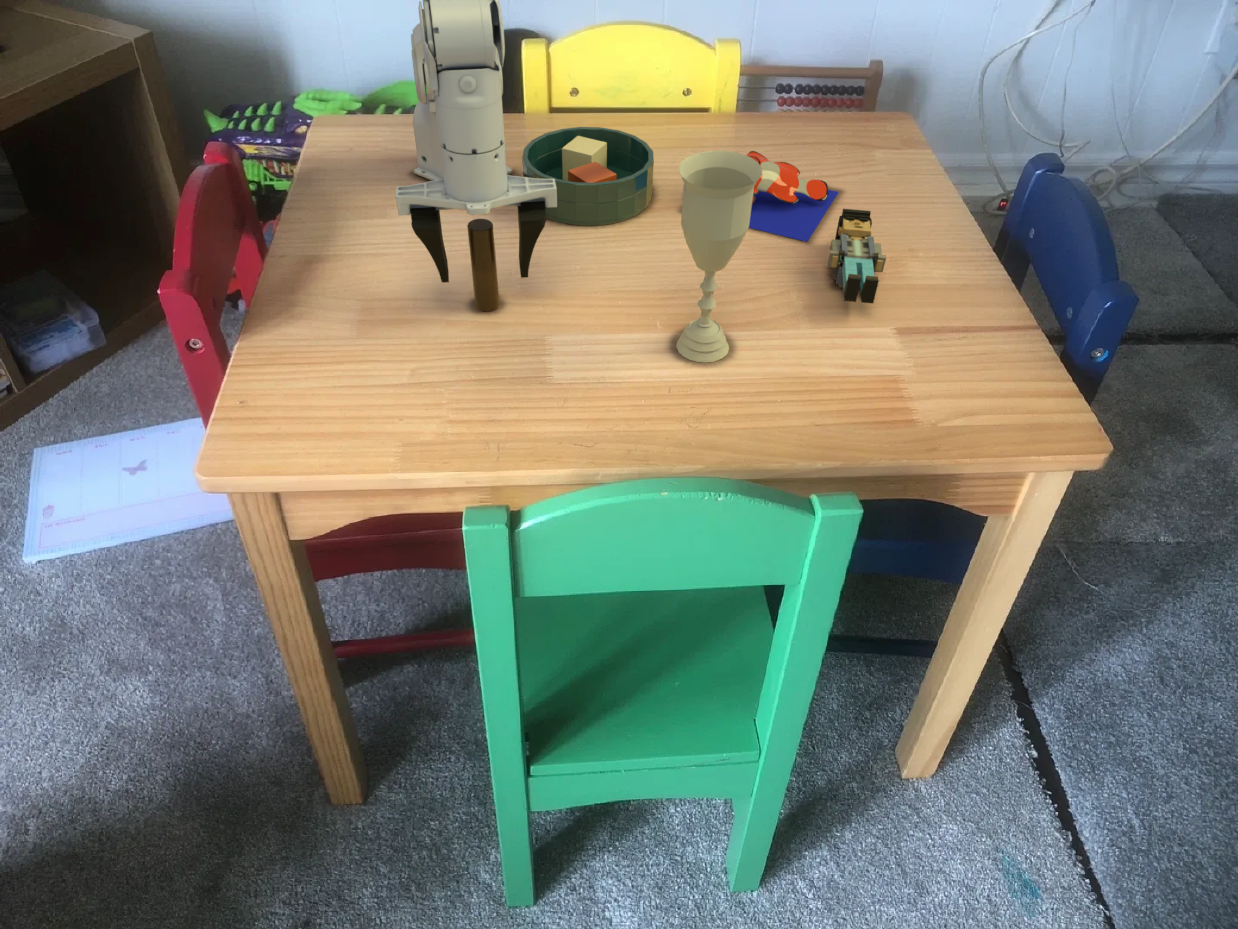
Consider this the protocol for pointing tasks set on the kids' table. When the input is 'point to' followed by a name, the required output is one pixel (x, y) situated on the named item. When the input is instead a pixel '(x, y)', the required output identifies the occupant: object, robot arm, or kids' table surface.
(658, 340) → the kids' table surface
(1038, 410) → the kids' table surface
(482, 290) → the dark brown cylinder
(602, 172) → the terracotta block
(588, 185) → the bowl
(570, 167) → the cream block
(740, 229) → the chalice
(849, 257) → the toy
